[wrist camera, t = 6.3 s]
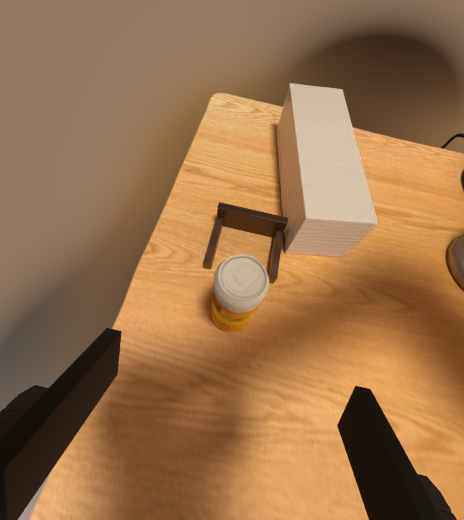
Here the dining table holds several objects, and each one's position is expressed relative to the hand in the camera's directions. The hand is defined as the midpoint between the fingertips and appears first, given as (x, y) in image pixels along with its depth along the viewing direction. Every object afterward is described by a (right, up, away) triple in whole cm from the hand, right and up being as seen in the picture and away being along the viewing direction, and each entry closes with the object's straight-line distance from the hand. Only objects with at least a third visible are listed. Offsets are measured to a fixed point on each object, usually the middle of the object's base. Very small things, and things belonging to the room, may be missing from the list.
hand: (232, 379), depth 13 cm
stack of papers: (+15, +21, +41) cm, 48 cm away
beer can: (0, -2, +28) cm, 28 cm away
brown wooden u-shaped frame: (+2, +7, +32) cm, 33 cm away
